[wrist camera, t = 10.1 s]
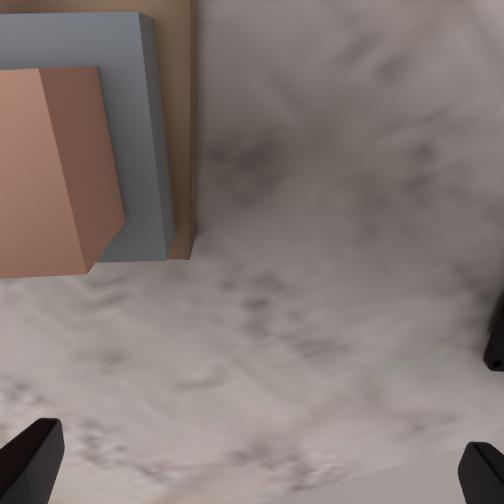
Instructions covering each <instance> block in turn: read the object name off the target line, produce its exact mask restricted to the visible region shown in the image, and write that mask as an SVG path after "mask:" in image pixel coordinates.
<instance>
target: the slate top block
mask: <svg viewBox="0 0 504 504" xmlns="http://www.w3.org/2000/svg"><path fill="white" fill-rule="evenodd" d="M78 66H97V68H98V74H99V79H100V85H101V90H102V95H103V101H104V106H105V112H106V117H107V123H108V128H109V134H110V139H111V145H112V150H113V156H114V161H115V166H116V172H117V177H118V183H119V188H120V194H121V199H122V205H123V210H124V216H125V221H126V222H125V223H124V224H123V226H122V227H121V228H120V230H119V231H118V232H117V234H116V235H115V236H114V238H113V239H112V241H111V242H110V243H109V245H108V246H107V247H106V249H105V250H104V251H103V253H102V254H101V256H100V257H99V258H98V260H97V261H96V262H126V261H161V260H167V258H168V255H169V253H170V250H171V247H172V244H173V241H174V238H175V236H176V231H175V221H174V212H173V202H172V192H171V182H170V172H169V163H168V153H167V143H166V133H165V124H164V114H163V104H162V94H161V84H160V75H159V65H158V55H157V45H156V35H155V26H154V18H152V17H149V16H147V15H145V14H143V13H141V12H138V11H137V12H85V13H33V14H0V70H17V69H35V68H56V67H78Z"/></svg>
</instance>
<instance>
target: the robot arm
mask: <svg viewBox="0 0 504 504" xmlns="http://www.w3.org/2000/svg"><path fill="white" fill-rule="evenodd" d="M496 360H497V361H496ZM494 361H496V362H494ZM484 363H485V365H486V366H487V367H488V368H489V369H490V370H491V371H502V372H504V306H503V309H502V312H501V314H500V317H499V320H498V322H497V325H496V328H495V330H494V333H493V336H492V338H491V342H490V344H489V347H488V350H487V352H486V355H485V358H484ZM64 448H65V446H64V438H63V431H62V424H61V421H60V420H59V419H57V418H40V419H38V420H36V421H35V422H34V423H32V424H31V425H30V426H29V427H27V428H26V429H25V430H24V431H22V432H21V433H20V434H19V435H17V436H16V437H15V438H14V439H12V440H11V441H10V442H8V443H7V444H6V445H5V446H3V447H2V448H1V449H0V504H48V501H49V498H50V495H51V492H52V489H53V486H54V483H55V480H56V477H57V474H58V471H59V468H60V465H61V462H62V459H63V455H64ZM458 477H459V481H460V484H461V488H462V491H463V494H464V497H465V501H466V504H504V455H503V454H502V453H501V452H499V451H498V450H497V449H496V448H495V447H493V446H492V445H491V444H489V443H486V442H469V443H468V444H467V446H466V448H465V451H464V453H463V456H462V458H461V461H460V463H459V466H458Z"/></svg>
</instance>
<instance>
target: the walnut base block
mask: <svg viewBox="0 0 504 504" xmlns="http://www.w3.org/2000/svg"><path fill="white" fill-rule="evenodd" d="M137 11H138V12H141V13H143V14H145V15H147V16H149V17H152V18H154V26H155V35H156V45H157V55H158V65H159V75H160V84H161V94H162V104H163V114H164V124H165V133H166V143H167V153H168V163H169V172H170V182H171V192H172V202H173V212H174V221H175V231H176V236H175V238H174V241H173V244H172V247H171V250H170V253H169V255H168V258H167V259H185V260H189V259H190V255H191V251H192V247H193V243H194V165H195V70H196V0H0V14H33V13H85V12H137Z"/></svg>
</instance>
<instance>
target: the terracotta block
mask: <svg viewBox="0 0 504 504" xmlns="http://www.w3.org/2000/svg"><path fill="white" fill-rule="evenodd" d="M125 222H126V221H125V216H124V210H123V205H122V199H121V194H120V188H119V183H118V177H117V172H116V166H115V161H114V156H113V150H112V145H111V139H110V134H109V128H108V123H107V117H106V112H105V106H104V101H103V95H102V90H101V85H100V79H99V74H98V68H97V66H78V67H56V68H35V69H17V70H0V278H20V277H39V276H59V275H79V274H87V273H88V272H89V271H90V269H91V268H92V266H93V265H94V264H95V262H96V261H97V260H98V258H99V257H100V256H101V254H102V253H103V251H104V250H105V249H106V247H107V246H108V245H109V243H110V242H111V241H112V239H113V238H114V236H115V235H116V234H117V232H118V231H119V230H120V228H121V227H122V226H123V224H124V223H125Z"/></svg>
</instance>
